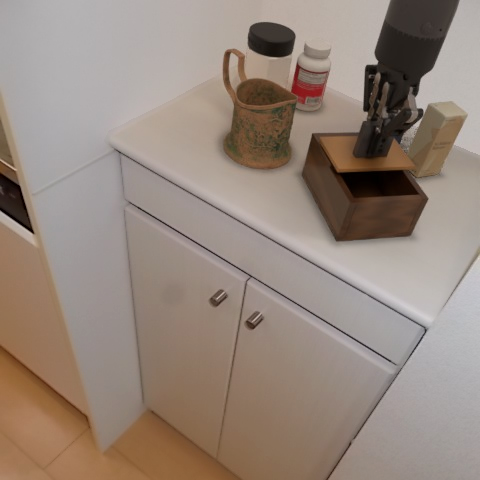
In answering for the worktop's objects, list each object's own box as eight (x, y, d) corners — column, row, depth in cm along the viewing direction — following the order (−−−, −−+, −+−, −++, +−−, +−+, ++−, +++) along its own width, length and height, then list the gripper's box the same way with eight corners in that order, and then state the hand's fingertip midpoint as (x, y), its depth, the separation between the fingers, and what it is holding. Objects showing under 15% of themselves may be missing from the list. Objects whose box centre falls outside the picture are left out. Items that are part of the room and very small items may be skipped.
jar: (240, 84, 101) (249, 17, 92) (282, 90, 102) (295, 24, 93) (239, 107, 95) (248, 38, 86) (283, 113, 96) (296, 46, 87)
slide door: (390, 138, 80) (404, 103, 76) (414, 169, 75) (429, 134, 71) (318, 140, 77) (327, 104, 73) (337, 172, 72) (349, 135, 68)
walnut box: (368, 172, 87) (383, 131, 82) (410, 235, 78) (430, 195, 72) (301, 174, 84) (312, 132, 79) (336, 241, 75) (351, 199, 69)
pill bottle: (299, 92, 102) (312, 32, 94) (326, 104, 100) (342, 44, 92) (282, 103, 98) (294, 42, 90) (310, 116, 97) (325, 55, 88)
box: (416, 178, 88) (443, 116, 79) (401, 164, 90) (426, 102, 82) (440, 174, 90) (469, 113, 81) (425, 160, 92) (452, 99, 84)
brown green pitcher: (246, 108, 96) (256, 39, 87) (305, 159, 87) (323, 89, 78) (192, 119, 91) (196, 48, 82) (248, 175, 82) (260, 102, 73)
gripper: (474, 48, 58) (414, 179, 71) (419, 0, 66) (375, 126, 80) (415, 46, 56) (365, 182, 69) (365, -3, 64) (329, 126, 78)
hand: (370, 151), depth 74 cm, fingers closed
